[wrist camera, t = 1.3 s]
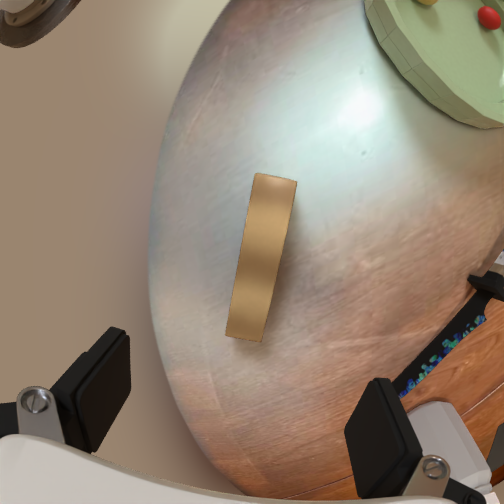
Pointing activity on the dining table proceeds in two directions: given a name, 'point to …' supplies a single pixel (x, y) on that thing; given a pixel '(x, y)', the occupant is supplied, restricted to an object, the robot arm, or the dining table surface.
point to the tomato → (489, 18)
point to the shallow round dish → (446, 54)
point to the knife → (455, 327)
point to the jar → (452, 445)
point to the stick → (260, 255)
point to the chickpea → (428, 2)
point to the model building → (497, 450)
